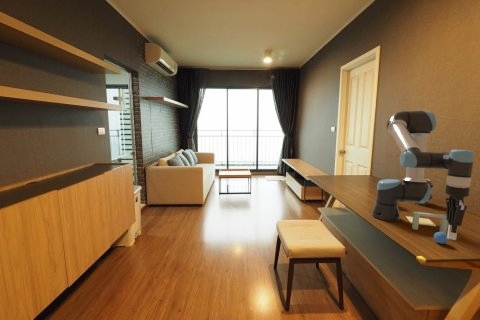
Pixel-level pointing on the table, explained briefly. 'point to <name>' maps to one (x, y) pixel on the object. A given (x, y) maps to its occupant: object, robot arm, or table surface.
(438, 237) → the ball
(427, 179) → the apothecary jar
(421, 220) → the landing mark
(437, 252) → the table surface
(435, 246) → the table surface
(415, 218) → the bridge
